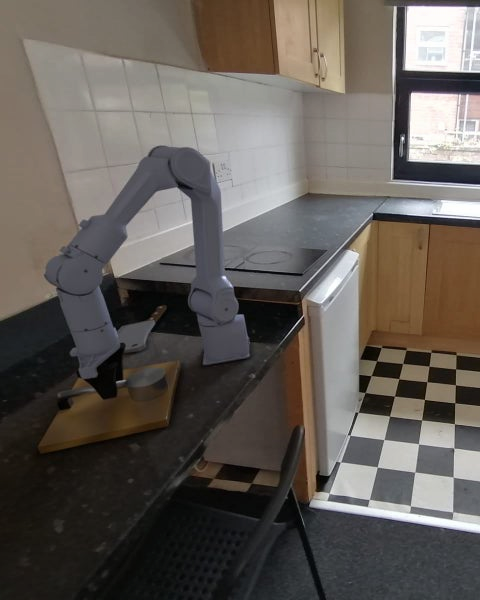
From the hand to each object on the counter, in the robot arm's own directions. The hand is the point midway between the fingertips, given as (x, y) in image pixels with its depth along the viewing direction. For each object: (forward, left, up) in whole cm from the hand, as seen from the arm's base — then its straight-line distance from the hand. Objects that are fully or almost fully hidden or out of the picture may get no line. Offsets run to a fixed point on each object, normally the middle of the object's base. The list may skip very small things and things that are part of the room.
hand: (113, 390), depth 73 cm
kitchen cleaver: (+2, -32, -3) cm, 32 cm away
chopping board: (0, 0, -3) cm, 3 cm away
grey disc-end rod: (0, 0, -2) cm, 2 cm away
